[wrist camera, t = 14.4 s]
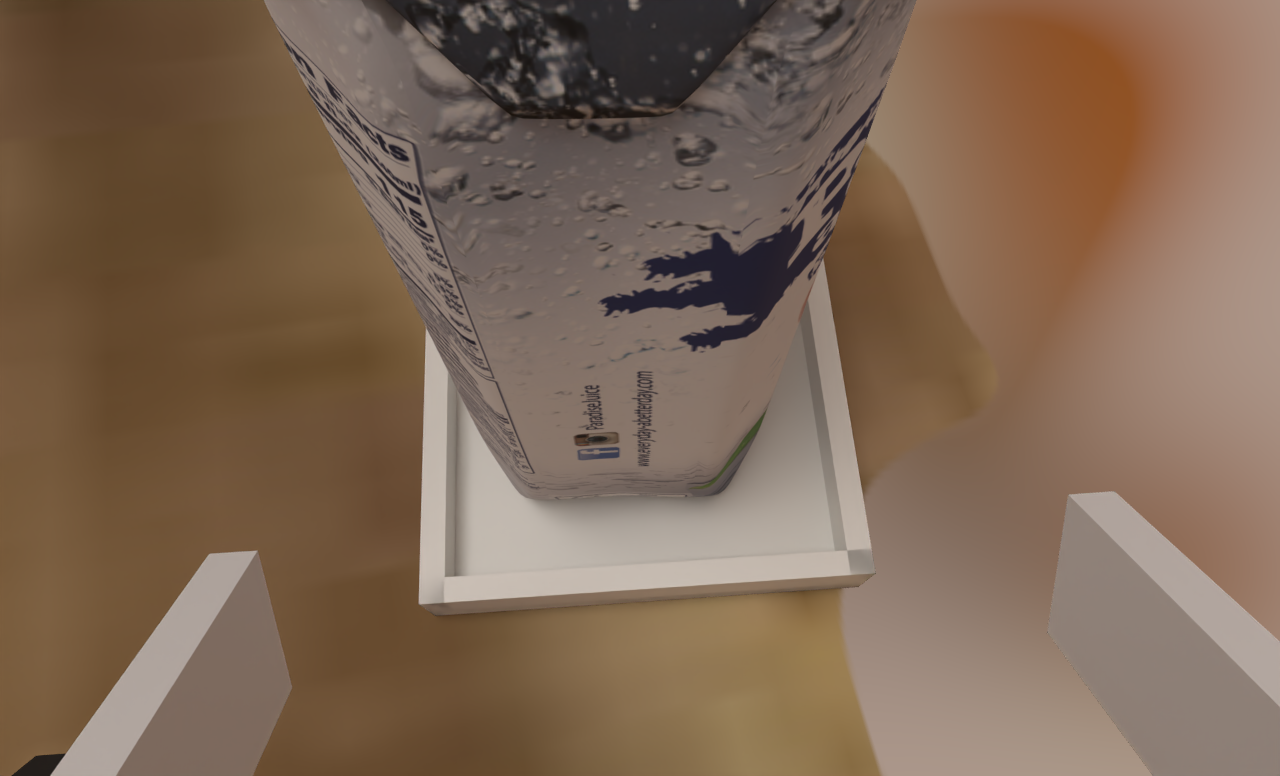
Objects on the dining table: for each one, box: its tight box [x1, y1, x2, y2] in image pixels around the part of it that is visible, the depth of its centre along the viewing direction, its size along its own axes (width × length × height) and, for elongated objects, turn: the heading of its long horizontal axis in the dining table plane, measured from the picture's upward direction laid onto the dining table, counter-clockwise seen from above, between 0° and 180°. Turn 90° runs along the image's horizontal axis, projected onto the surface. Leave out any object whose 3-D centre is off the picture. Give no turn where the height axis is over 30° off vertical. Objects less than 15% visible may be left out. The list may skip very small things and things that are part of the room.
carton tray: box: [419, 259, 876, 616], centre depth 33 cm, size 16×15×2 cm
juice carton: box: [264, 0, 916, 500], centre depth 20 cm, size 9×10×27 cm
